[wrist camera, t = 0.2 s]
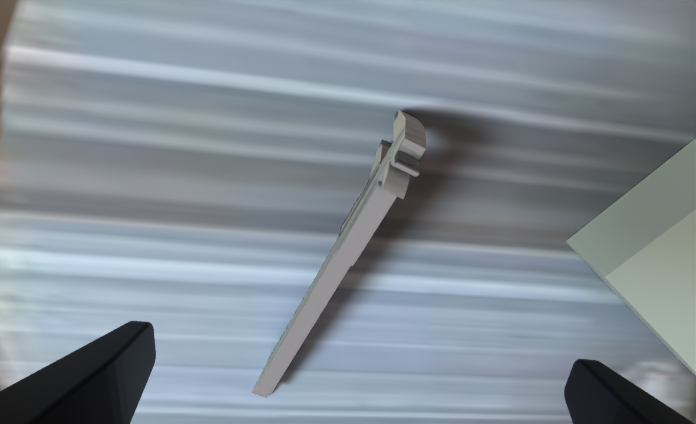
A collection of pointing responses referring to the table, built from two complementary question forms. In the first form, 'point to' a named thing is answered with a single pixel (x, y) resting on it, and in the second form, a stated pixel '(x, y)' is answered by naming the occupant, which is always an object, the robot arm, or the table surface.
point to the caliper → (351, 239)
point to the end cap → (652, 252)
